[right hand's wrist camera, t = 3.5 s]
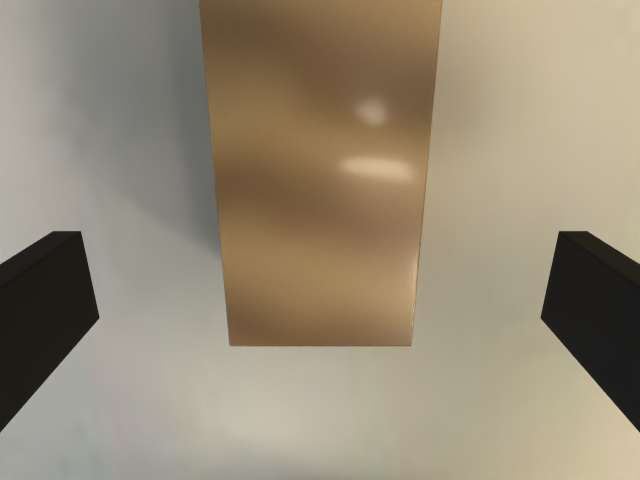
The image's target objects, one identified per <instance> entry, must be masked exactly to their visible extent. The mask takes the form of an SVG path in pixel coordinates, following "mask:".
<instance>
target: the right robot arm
mask: <svg viewBox="0 0 640 480" xmlns="http://www.w3.org/2000/svg"><path fill="white" fill-rule="evenodd" d="M98 319H99V313H98V309H97V304H96V299H95V295H94V290H93V285H92V281H91V276H90V271H89V267H88V262H87V257H86V253H85V248H84V243H83V239H82V234H81V231H53V232H51V233H50V234H48V235H46V236H45V237H43V238H42V239H40V240H38V241H37V242H35V243H34V244H32V245H30V246H29V247H27V248H26V249H24V250H22V251H21V252H19V253H18V254H16V255H14V256H13V257H11V258H10V259H8V260H6V261H5V262H3V263H2V264H0V432H1V431H2V430H3V429H4V428H5V426H6V425H7V424H8V423H9V422H10V421H11V419H12V418H13V417H14V416H15V415H16V414H17V413H18V411H19V410H20V409H21V408H22V407H23V406H24V404H25V403H26V402H27V401H28V400H29V399H30V398H31V396H32V395H33V394H34V393H35V392H36V391H37V389H38V388H39V387H40V386H41V385H42V384H43V383H44V381H45V380H46V379H47V378H48V377H49V376H50V374H51V373H52V372H53V371H54V370H55V369H56V368H57V366H58V365H59V364H60V363H61V362H62V361H63V360H64V358H65V357H66V356H67V355H68V354H69V353H70V351H71V350H72V349H73V348H74V347H75V346H76V345H77V343H78V342H79V341H80V340H81V339H82V338H83V336H84V335H85V334H86V333H87V332H88V331H89V330H90V328H91V327H92V326H93V325H94V324H95V323H96V321H97V320H98ZM541 319H542V320H543V321H544V323H545V324H546V325H547V326H548V327H549V328H550V330H551V331H552V332H553V333H554V334H555V335H556V336H557V338H558V339H559V340H560V341H561V342H562V343H563V345H564V346H565V347H566V348H567V349H568V350H569V351H570V353H571V354H572V355H573V356H574V357H575V358H576V360H577V361H578V362H579V363H580V364H581V365H582V366H583V368H584V369H585V370H586V371H587V372H588V373H589V374H590V376H591V377H592V378H593V379H594V380H595V381H596V383H597V384H598V385H599V386H600V387H601V388H602V389H603V391H604V392H605V393H606V394H607V395H608V396H609V398H610V399H611V400H612V401H613V402H614V403H615V404H616V406H617V407H618V408H619V409H620V410H621V411H622V413H623V414H624V415H625V416H626V417H627V418H628V419H629V421H630V422H631V423H632V424H633V425H634V426H635V428H636V429H637V430H638V431H639V432H640V264H638V263H637V262H635V261H634V260H632V259H630V258H629V257H627V256H626V255H624V254H622V253H621V252H619V251H618V250H616V249H614V248H613V247H611V246H610V245H608V244H606V243H605V242H603V241H602V240H600V239H598V238H597V237H595V236H594V235H592V234H590V233H589V232H587V231H559V234H558V239H557V243H556V248H555V253H554V257H553V262H552V267H551V271H550V276H549V281H548V285H547V290H546V295H545V299H544V304H543V309H542V313H541Z"/></svg>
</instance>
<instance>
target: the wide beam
mask: <svg viewBox="0 0 640 480" xmlns="http://www.w3.org/2000/svg"><path fill="white" fill-rule="evenodd" d="M199 8H200V19H201V30H202V42H203V53H204V64H205V75H206V87H207V98H208V109H209V120H210V132H211V143H212V154H213V165H214V177H215V188H216V199H217V210H218V221H219V233H220V244H221V255H222V266H223V278H224V289H225V300H226V311H227V323H228V334H229V345H230V346H411V344H412V333H413V322H414V311H415V300H416V289H417V278H418V267H419V256H420V244H421V233H422V222H423V211H424V200H425V189H426V178H427V167H428V156H429V144H430V133H431V122H432V111H433V100H434V89H435V78H436V67H437V56H438V44H439V33H440V22H441V11H442V0H199Z"/></svg>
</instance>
